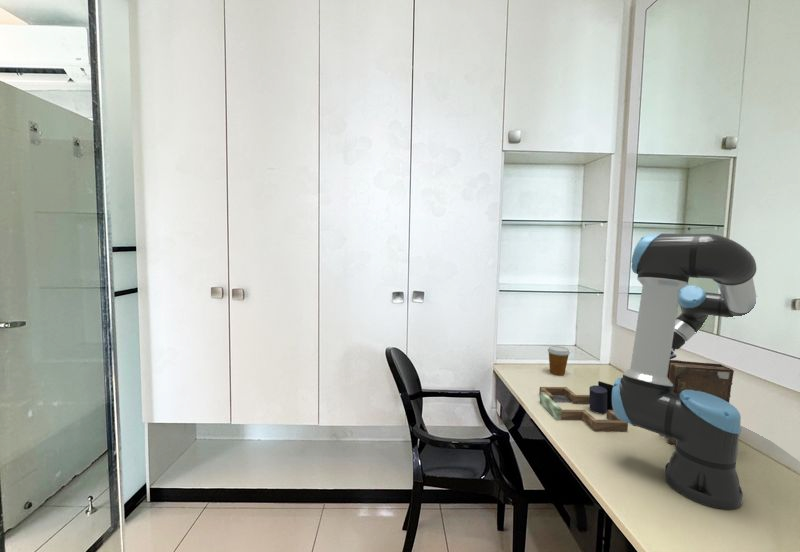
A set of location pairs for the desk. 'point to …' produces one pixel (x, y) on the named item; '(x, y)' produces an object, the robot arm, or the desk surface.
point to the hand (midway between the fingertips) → (627, 379)
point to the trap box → (565, 395)
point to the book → (700, 379)
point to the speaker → (601, 397)
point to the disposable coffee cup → (558, 360)
